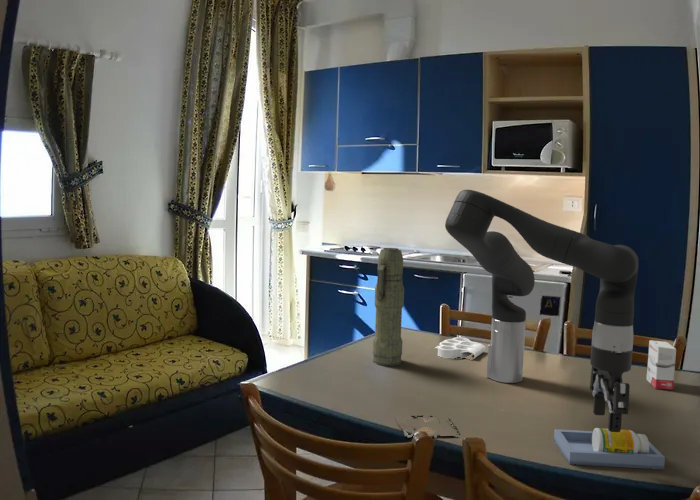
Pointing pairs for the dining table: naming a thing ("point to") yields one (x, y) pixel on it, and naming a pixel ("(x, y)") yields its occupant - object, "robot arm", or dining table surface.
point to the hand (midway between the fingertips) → (606, 422)
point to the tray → (581, 452)
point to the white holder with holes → (459, 348)
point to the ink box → (661, 365)
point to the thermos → (388, 308)
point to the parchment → (425, 427)
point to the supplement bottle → (619, 441)
